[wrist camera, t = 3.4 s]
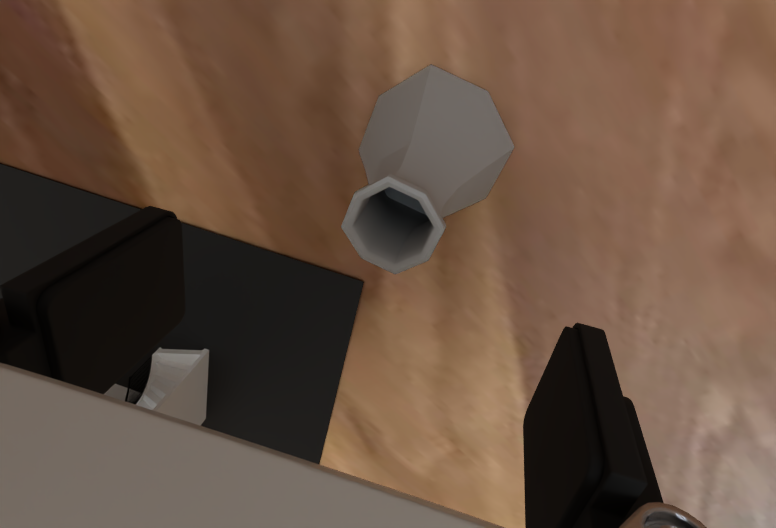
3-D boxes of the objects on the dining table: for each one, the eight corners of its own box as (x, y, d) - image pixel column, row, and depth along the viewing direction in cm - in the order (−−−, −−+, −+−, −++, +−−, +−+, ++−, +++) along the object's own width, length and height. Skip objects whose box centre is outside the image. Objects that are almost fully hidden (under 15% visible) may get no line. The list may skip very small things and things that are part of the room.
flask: (336, 148, 25) (245, 225, 16) (431, 32, 21) (377, 53, 13) (437, 240, 26) (401, 356, 18) (542, 145, 23) (561, 231, 14)
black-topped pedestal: (364, 280, 28) (265, 469, 17) (304, 526, 42) (225, 723, 30) (-53, 145, 31) (-390, 231, 19) (17, 419, 44) (-157, 566, 33)
